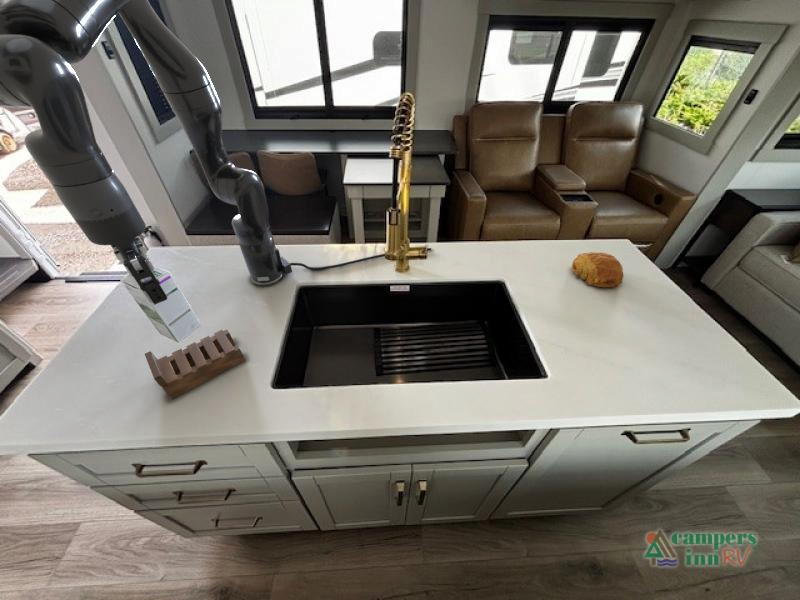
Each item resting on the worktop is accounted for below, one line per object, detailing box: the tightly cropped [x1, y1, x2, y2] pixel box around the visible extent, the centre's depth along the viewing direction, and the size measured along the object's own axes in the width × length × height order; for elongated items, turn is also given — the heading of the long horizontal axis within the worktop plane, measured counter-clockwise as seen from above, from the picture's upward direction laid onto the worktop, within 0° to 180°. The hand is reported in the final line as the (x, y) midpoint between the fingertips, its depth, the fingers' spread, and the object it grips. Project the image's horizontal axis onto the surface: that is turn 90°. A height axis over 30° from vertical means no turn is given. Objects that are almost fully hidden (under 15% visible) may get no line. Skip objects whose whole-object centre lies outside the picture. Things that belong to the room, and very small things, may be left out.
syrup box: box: [120, 264, 202, 343], centre depth 62 cm, size 6×6×14 cm
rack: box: [144, 328, 246, 400], centre depth 73 cm, size 16×8×8 cm, turn 132°
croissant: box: [571, 251, 624, 288], centre depth 104 cm, size 14×16×8 cm
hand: (155, 289), depth 59 cm, fingers closed on syrup box, 7 cm apart
